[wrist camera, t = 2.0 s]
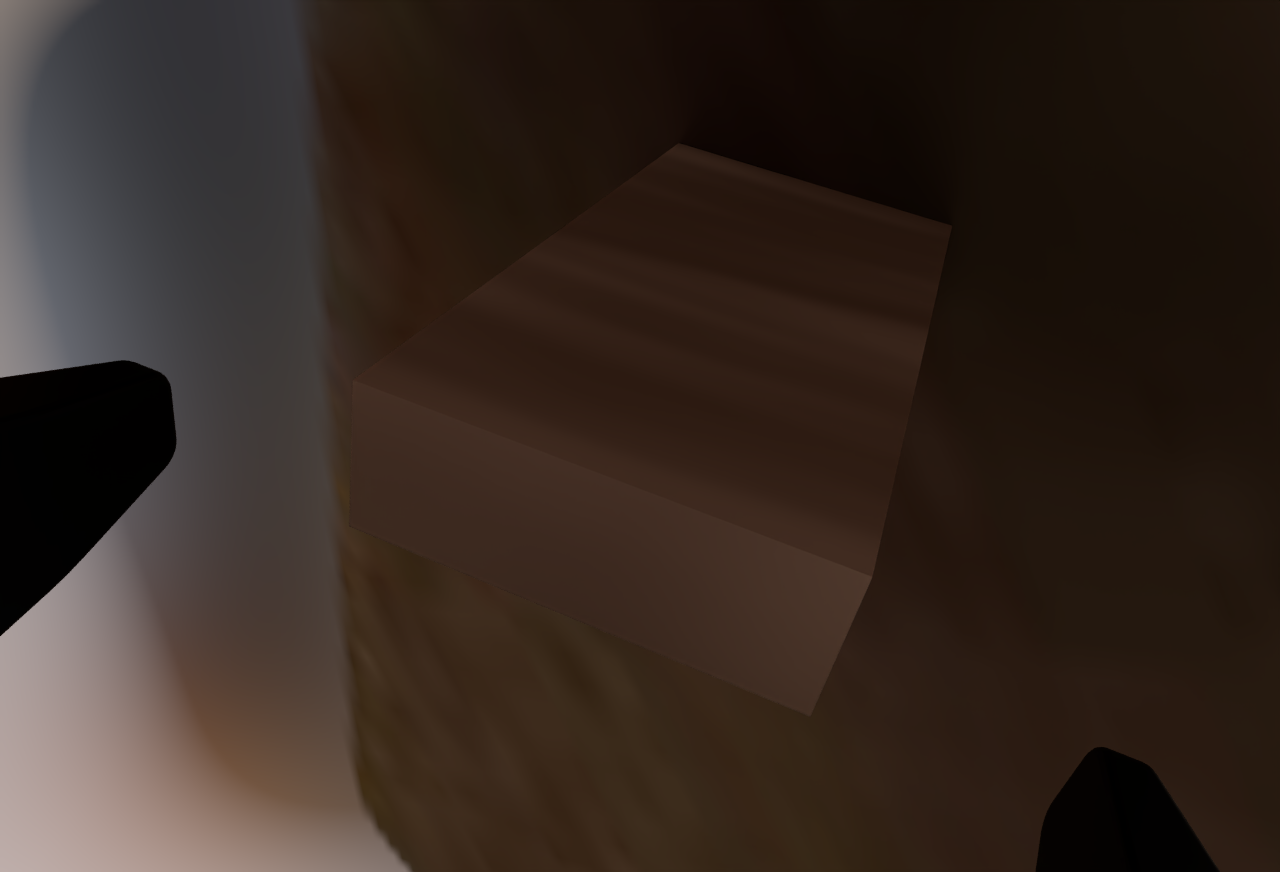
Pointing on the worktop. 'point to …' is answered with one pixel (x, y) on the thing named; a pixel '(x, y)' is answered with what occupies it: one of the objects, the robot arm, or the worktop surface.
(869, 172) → the worktop surface
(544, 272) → the end domino
